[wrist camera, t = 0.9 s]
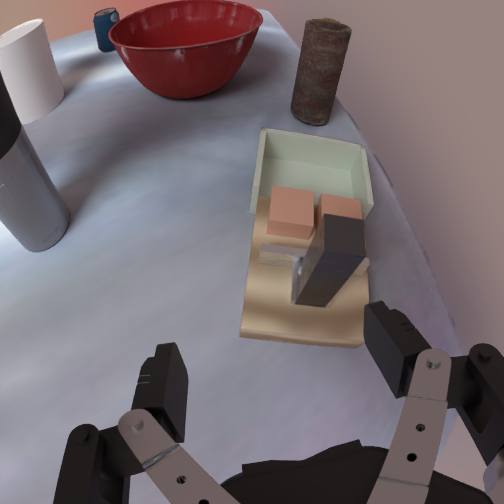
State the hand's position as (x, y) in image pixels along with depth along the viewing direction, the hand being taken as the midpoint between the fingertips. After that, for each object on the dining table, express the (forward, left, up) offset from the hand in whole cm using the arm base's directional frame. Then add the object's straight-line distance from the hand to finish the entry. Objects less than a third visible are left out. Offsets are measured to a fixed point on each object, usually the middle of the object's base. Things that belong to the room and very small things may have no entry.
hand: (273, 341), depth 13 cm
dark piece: (-2, +12, -19) cm, 23 cm away
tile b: (-6, +21, -19) cm, 29 cm away
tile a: (-11, +17, -19) cm, 28 cm away
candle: (-25, +40, -24) cm, 53 cm away
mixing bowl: (-49, +30, -24) cm, 62 cm away
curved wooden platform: (-5, +15, -23) cm, 28 cm away
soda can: (-82, +27, -24) cm, 90 cm away
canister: (-71, +2, -24) cm, 75 cm away
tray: (-14, +25, -23) cm, 37 cm away
